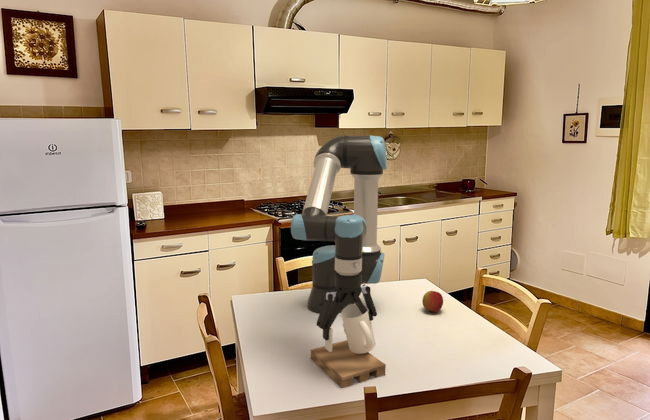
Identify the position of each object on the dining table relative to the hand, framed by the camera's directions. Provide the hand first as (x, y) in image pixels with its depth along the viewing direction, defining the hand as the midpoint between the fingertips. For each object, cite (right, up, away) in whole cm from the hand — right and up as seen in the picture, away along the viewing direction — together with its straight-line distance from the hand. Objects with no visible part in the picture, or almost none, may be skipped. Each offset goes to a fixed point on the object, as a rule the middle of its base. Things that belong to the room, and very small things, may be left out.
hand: (347, 345), depth 135 cm
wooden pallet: (0, -7, +1) cm, 7 cm away
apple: (+34, 0, +42) cm, 54 cm away
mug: (+5, -2, +4) cm, 7 cm away
